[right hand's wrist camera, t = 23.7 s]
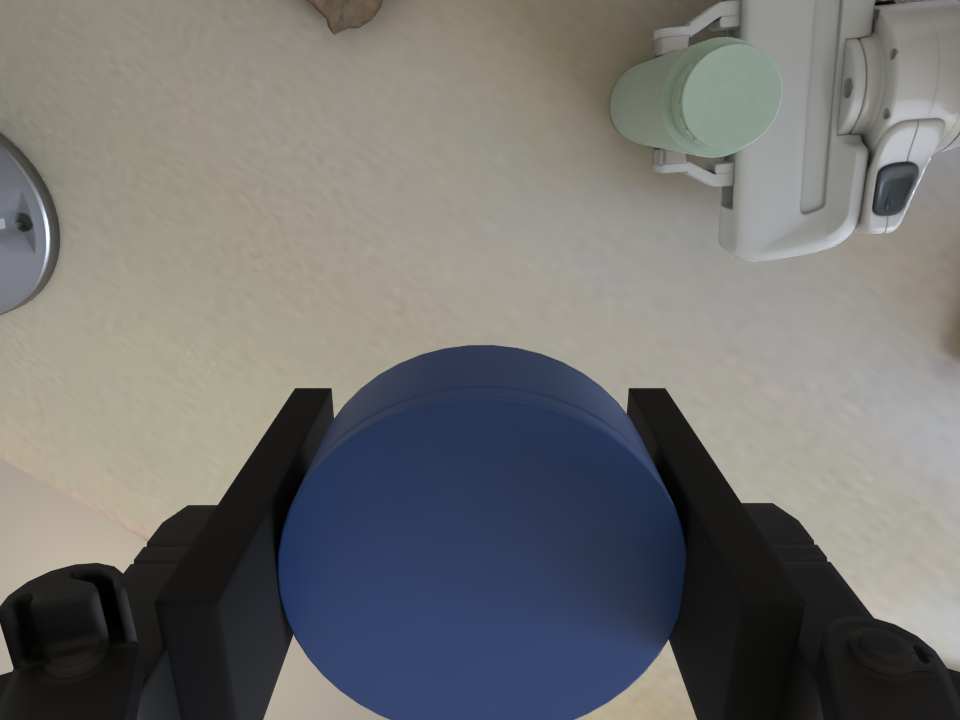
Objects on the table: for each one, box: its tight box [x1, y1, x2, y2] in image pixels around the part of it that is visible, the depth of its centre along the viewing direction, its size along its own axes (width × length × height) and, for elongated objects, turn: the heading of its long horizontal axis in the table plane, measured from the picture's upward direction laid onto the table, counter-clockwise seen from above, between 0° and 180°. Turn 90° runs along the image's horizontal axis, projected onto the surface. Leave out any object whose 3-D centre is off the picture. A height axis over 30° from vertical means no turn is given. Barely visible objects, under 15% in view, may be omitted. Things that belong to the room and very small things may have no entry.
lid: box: [277, 345, 687, 720], centre depth 11 cm, size 6×6×2 cm
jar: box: [610, 37, 782, 158], centre depth 39 cm, size 6×6×18 cm
